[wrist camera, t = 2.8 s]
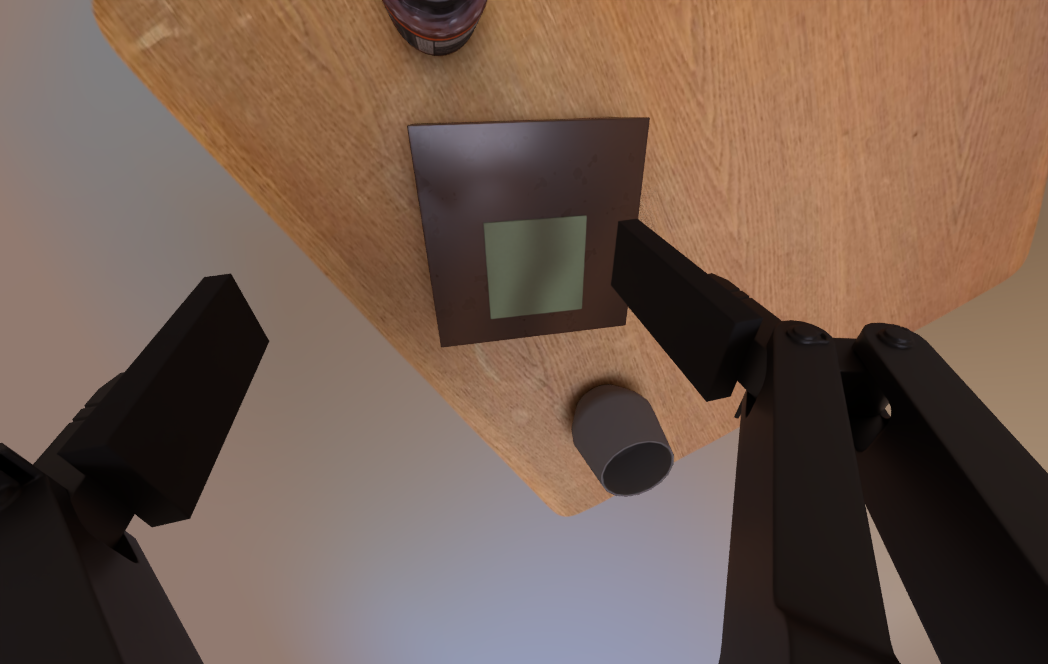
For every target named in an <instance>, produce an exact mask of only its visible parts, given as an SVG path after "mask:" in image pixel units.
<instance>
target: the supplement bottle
mask: <svg viewBox="0 0 1048 664" xmlns="http://www.w3.org/2000/svg"><path fill="white" fill-rule="evenodd" d="M382 1H383V3H384V5H385V8H386V9H387V11H388V13H389V16H390V18H391V20H392V22H393V23H394V25H395V27H396V28H397V30H398V31H399V33H400V34H401V35H402V37H403V38H404V39H405V40H406V41H407V42H408V43H409V44H410V45H412V46H413V47H415V48H416V49H418V50H420V51H422V52H424V53H427V54H430V55H434V56H435V55H436V56H443V55H447V54H451V53H453V52H455V51H457V50H458V49H460V48H461V47H462V46H463V45H464V44H465V43H466V42H467V41H468V39H469V38H470V37H471V35H472V33H473V31H474V29H475V28H476V25H477V23H478V21H479V19H480V17H481V15H482V13H483V10H484V8H485V5H486V3H487V0H382Z"/></svg>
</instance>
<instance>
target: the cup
mask: <svg viewBox="0 0 1048 664" xmlns="http://www.w3.org/2000/svg"><path fill="white" fill-rule="evenodd" d="M572 436H573V442H574V445H575V447H576V448H577V449H578V451H579V452H580V454H581V455H582V457H583V458H584V460H585V461H586V463H587V464H588V465H589V467H590V468H591V470H592V471H593V473H594V474H595V476H596V477H597V478H598V480H599V481H600V483H601V484H602V486H603V487H604V488H605V490H606V491H607V492H609V493H611V494H613V495H615V496H625V497H627V496H633V495H639V494H641V493H643V492H646V491H648V490H651V489H652V488H653V487H655V486H656V485H658V484H659V483H661V482H662V481H663V479H664V478H665V477H666V476H667V475H668V474H669V472H670V470H671V468H672V466H673V462H674V454H673V452H672V450H671V448H670V446H669V443H668V441H667V439H666V437H665V435H664V432H663V430H662V428H661V426H660V424H659V421H658V419H657V417H656V415H655V413H654V411H653V409H652V407H651V405H650V403H649V402H648V401H647V400H646V399H645V398H643V397H642V396H641V395H639V394H638V393H636V392H634V391H631V390H628V389H625V388H622V387H619V386H614V385H602V386H598V387H596V388H594V389H591V390H590V391H589V392H587V393H586V394H585V395H583V397H582V398H581V399H580V401H579V402H578V404H577V408H576V411H575V415H574V419H573V424H572Z"/></svg>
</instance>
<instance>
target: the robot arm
mask: <svg viewBox="0 0 1048 664" xmlns="http://www.w3.org/2000/svg"><path fill="white" fill-rule="evenodd" d="M611 286H612V287H613V289H614V290H615V291H616V292H617V293H618V295H619V296H620V297H621V298H622V300H623V301H624V302H625V303H626V304H627V306H628V307H629V308H630V309H631V310H632V312H633V313H634V314H635V315H636V317H637V318H638V319H639V320H640V321H641V323H642V324H643V325H644V326H645V328H646V329H647V330H648V331H649V332H650V334H651V335H652V336H653V337H654V338H655V340H656V341H657V342H658V343H659V345H660V346H661V347H662V348H663V349H664V351H665V352H666V353H667V354H668V355H669V357H670V358H671V359H672V360H673V362H674V363H675V364H676V365H677V366H678V368H679V369H680V370H681V371H682V372H683V374H684V375H685V376H686V377H687V379H688V380H689V381H690V382H691V383H692V385H693V386H694V387H695V388H696V389H697V391H698V392H699V393H700V394H701V396H702V397H703V398H704V399H705V400H706V402H708V401H712V400H717V399H721V398H726V397H730V396H731V394H732V392H733V389H734V387H735V385H736V382H737V381H738V382H739V383H740V384H741V385H742V386H743V387H744V388H745V389H746V392H745V394H744V396H743V399H742V401H741V403H740V405H739V408H738V410H737V412H736V414H735V416H734V417H735V418H739V416H740V415H741V420H740V433H739V444H738V456H737V467H736V479H735V491H734V503H733V515H732V528H731V539H730V551H729V563H728V575H727V586H726V599H725V610H724V623H723V634H722V646H721V654H720V660H719V664H901V663H899V661H898V659H897V658H896V656H895V654H894V652H893V648H892V645H891V641H890V635H889V630H888V625H887V619H886V614H885V609H884V603H883V598H882V593H881V587H880V582H879V577H878V571H877V566H876V560H875V555H874V550H873V544H872V539H871V534H870V528H869V524H868V518H867V512H866V507H867V509H868V511H869V513H870V515H871V517H872V519H873V521H874V523H875V525H876V528H877V530H878V532H879V534H880V536H881V538H882V540H883V542H884V545H885V547H886V549H887V551H888V553H889V555H890V557H891V559H892V561H893V563H894V566H895V568H896V570H897V572H898V574H899V576H900V578H901V580H902V582H903V584H904V587H905V589H906V591H907V592H908V595H909V597H910V599H911V601H912V603H913V605H914V607H915V609H916V612H917V614H918V616H919V618H920V620H921V622H922V624H923V627H924V629H925V631H926V633H927V635H928V637H929V639H930V641H931V643H932V645H933V648H934V650H935V652H936V654H937V656H938V658H939V660H940V662H941V664H1048V473H1047V472H1046V471H1045V470H1044V469H1043V468H1042V467H1041V465H1040V464H1039V463H1038V462H1037V461H1036V460H1035V459H1034V458H1033V457H1032V456H1031V455H1030V453H1029V452H1028V451H1027V450H1026V449H1025V448H1024V447H1023V446H1022V445H1021V444H1020V443H1019V441H1018V440H1017V439H1016V438H1015V437H1014V436H1013V435H1012V434H1011V433H1010V432H1009V431H1008V429H1007V428H1006V427H1005V426H1004V425H1003V424H1002V423H1001V422H1000V421H999V420H998V419H997V417H996V416H995V415H994V414H993V413H992V412H991V411H990V410H989V409H988V408H987V407H986V405H985V404H984V403H983V402H982V401H981V400H980V399H979V398H978V397H977V396H976V394H975V393H974V392H973V391H972V390H971V389H970V388H969V387H968V386H967V385H966V384H965V382H964V381H963V380H962V379H961V378H960V377H959V376H958V375H957V374H956V373H955V372H954V370H953V369H952V368H951V367H950V366H949V365H948V364H947V363H946V362H945V361H944V360H943V358H942V357H941V356H940V355H939V354H938V353H937V352H936V351H935V350H934V349H933V348H932V346H930V344H929V343H928V342H927V341H926V340H924V339H923V338H922V337H921V336H919V335H918V334H916V333H914V332H912V331H910V330H909V329H907V328H904V327H900V326H898V325H894V324H886V323H870V324H868V325H865V326H864V328H863V329H862V331H861V333H860V334H859V336H858V337H857V339H850V338H832V337H831V336H830V335H829V334H828V333H827V332H826V331H824V330H823V329H821V328H819V327H817V326H815V325H812V324H809V323H806V322H802V321H793V320H789V321H781V320H780V319H779V318H777V317H776V316H775V315H773V314H772V313H771V312H769V311H768V310H767V309H766V308H764V307H763V306H762V305H760V304H759V303H758V302H756V301H755V300H754V299H752V298H749V296H748V295H747V294H746V293H744V292H743V291H740V289H739V288H738V287H736V286H735V285H734V284H733V283H731V282H730V281H729V280H727V279H724V278H722V277H720V276H717V275H715V274H713V273H711V274H707V273H706V272H704V271H703V270H702V269H701V268H699V267H698V266H697V265H695V264H694V263H693V262H692V261H690V260H689V259H688V258H687V257H685V256H684V255H683V254H682V253H680V252H679V251H678V250H676V249H675V248H674V247H673V246H671V245H670V244H669V243H668V242H666V241H665V240H664V239H662V238H661V237H660V236H659V235H657V234H656V233H655V232H654V231H652V230H651V229H650V228H649V227H647V226H646V225H645V224H643V223H642V222H641V221H640V220H638V219H630V220H623V221H618V227H617V236H616V244H615V253H614V262H613V270H612V279H611ZM268 343H269V340H268V338H267V336H266V335H265V333H264V331H263V329H262V327H261V326H260V324H259V322H258V320H257V319H256V317H255V315H254V313H253V312H252V310H251V308H250V306H249V305H248V303H247V301H246V299H245V298H244V296H243V294H242V292H241V290H240V289H239V287H238V285H237V283H236V282H235V280H234V278H233V276H232V275H231V274H224V275H217V276H209V277H204V278H203V279H202V281H201V282H200V283H199V284H198V286H197V287H196V288H195V289H194V290H193V291H192V292H191V294H190V295H189V296H188V297H187V299H186V300H185V301H184V302H183V303H182V304H181V306H180V307H179V308H178V309H177V310H176V312H175V313H174V314H173V315H172V316H171V318H170V319H169V320H168V321H167V322H166V324H165V325H164V326H163V327H162V328H161V330H160V331H159V332H158V333H157V334H156V335H155V337H154V338H153V339H152V340H151V341H150V343H149V344H148V345H147V346H146V347H145V349H144V350H143V351H142V352H141V353H140V355H139V356H138V357H137V358H136V359H135V361H134V362H133V363H132V364H131V365H130V367H129V368H128V369H127V370H126V371H125V372H124V373H120V374H119V375H117V376H116V377H114V378H113V379H112V380H110V381H109V382H108V383H106V384H105V385H104V386H102V387H101V388H100V389H98V391H97V392H96V393H95V394H94V395H93V396H92V397H91V399H90V400H89V401H88V402H87V403H86V404H85V408H83V409H81V410H80V411H79V413H77V415H76V416H75V417H74V418H73V422H72V423H69V424H68V425H67V426H66V427H65V428H64V430H63V431H62V432H61V433H60V434H59V435H58V436H57V438H56V439H55V440H54V441H53V442H52V443H51V445H50V446H49V447H48V448H47V449H46V450H45V451H44V453H43V454H42V455H41V456H40V457H39V459H37V461H36V462H35V463H34V464H33V465H32V464H31V463H29V462H28V461H27V460H25V459H24V458H22V457H21V456H20V455H18V454H17V453H16V452H14V451H13V450H11V449H10V448H8V447H7V446H6V445H4V444H3V443H0V664H203V662H202V660H201V658H200V656H199V654H198V652H197V651H196V649H195V647H194V645H193V643H192V641H191V639H190V638H189V636H188V634H187V632H186V630H185V628H184V627H183V625H182V623H181V621H180V619H179V618H178V616H177V614H176V612H175V610H174V608H173V607H172V605H171V603H170V601H169V599H168V597H167V595H166V594H165V592H164V590H163V588H162V586H161V584H160V583H159V581H158V579H157V577H156V575H155V573H154V572H153V570H152V568H151V566H150V564H149V562H148V561H147V559H146V557H145V555H144V553H143V551H142V549H141V548H140V546H139V544H138V542H137V540H136V539H135V538H134V537H133V536H132V535H130V534H129V533H127V532H126V531H125V530H126V528H127V526H128V525H129V523H130V521H131V519H132V518H133V516H134V514H136V515H137V516H138V517H139V518H141V519H142V520H143V521H144V522H146V523H147V524H148V525H150V526H151V527H156V526H160V525H164V524H169V523H173V522H177V521H182V520H186V519H190V518H191V515H192V513H193V511H194V509H195V506H196V504H197V502H198V500H199V497H200V495H201V493H202V491H203V489H204V486H205V484H206V482H207V480H208V477H209V475H210V473H211V470H212V468H213V466H214V464H215V462H216V459H217V457H218V455H219V453H220V450H221V448H222V446H223V444H224V442H225V439H226V437H227V434H228V433H229V430H230V428H231V426H232V424H233V421H234V419H235V417H236V415H237V412H238V410H239V408H240V405H241V403H242V401H243V399H244V397H245V394H246V392H247V390H248V388H249V386H250V383H251V381H252V379H253V377H254V374H255V372H256V370H257V368H258V365H259V363H260V361H261V359H262V356H263V354H264V352H265V350H266V347H267V345H268ZM888 404H890V406H891V417H890V416H889V414H888V413H887V411H886V410H885V408H886V406H887V405H888ZM865 505H866V507H865Z"/></svg>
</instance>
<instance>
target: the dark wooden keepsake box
mask: <svg viewBox="0 0 1048 664" xmlns="http://www.w3.org/2000/svg"><path fill="white" fill-rule="evenodd" d="M649 120H650V118H647V117H606V118H576V119H545V120H514V121H483V122H452V123H421V124H411V125H408V126H407V128H408V134H409V141H410V147H411V154H412V160H413V167H414V173H415V180H416V187H417V193H418V200H419V206H420V213H421V219H422V226H423V232H424V239H425V245H426V252H427V258H428V265H429V271H430V278H431V285H432V291H433V298H434V304H435V311H436V317H437V324H438V330H439V337H440V343H441V347H449V346H457V345H466V344H474V343H482V342H490V341H499V340H507V339H515V338H524V337H532V336H540V335H548V334H557V333H565V332H573V331H582V330H590V329H598V328H606V327H615V326H623V325H626V317H627V309H628V306H627V304H626V303H625V302H624V301H623V300H622V298H621V297H620V296H619V295H618V293H617V292H616V291H615V290H614V289H613V287H612V286H611V279H612V270H613V262H614V253H615V244H616V236H617V227H618V221H623V220H630V219H638V214H639V206H640V197H641V188H642V180H643V171H644V163H645V154H646V145H647V137H648V128H649Z"/></svg>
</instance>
